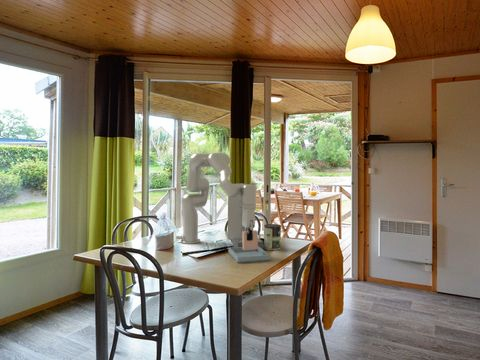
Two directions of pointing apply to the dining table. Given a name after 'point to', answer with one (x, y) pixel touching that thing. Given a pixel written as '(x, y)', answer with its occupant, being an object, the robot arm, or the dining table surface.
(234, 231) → the tall white slab
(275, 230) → the coffee can
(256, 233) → the pink rectangular block
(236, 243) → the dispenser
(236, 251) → the tray
